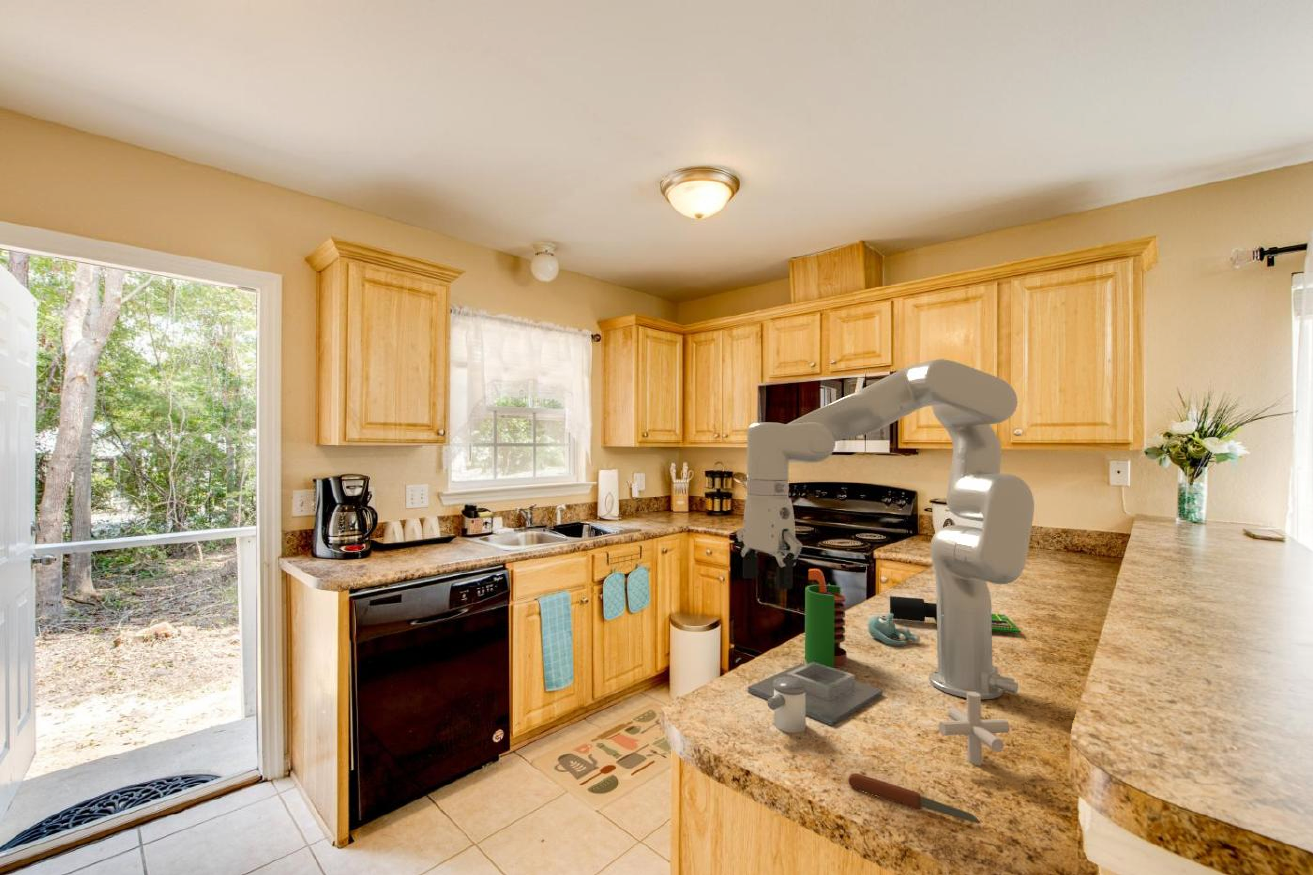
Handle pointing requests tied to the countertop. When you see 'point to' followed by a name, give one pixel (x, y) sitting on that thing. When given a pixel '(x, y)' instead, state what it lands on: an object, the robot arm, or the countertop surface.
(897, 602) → the electronic board model
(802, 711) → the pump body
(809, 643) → the motor
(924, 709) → the countertop surface
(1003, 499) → the robot arm
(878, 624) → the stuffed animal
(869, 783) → the kitchen knife
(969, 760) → the pipe connector
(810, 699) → the mount plate
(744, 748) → the countertop surface
